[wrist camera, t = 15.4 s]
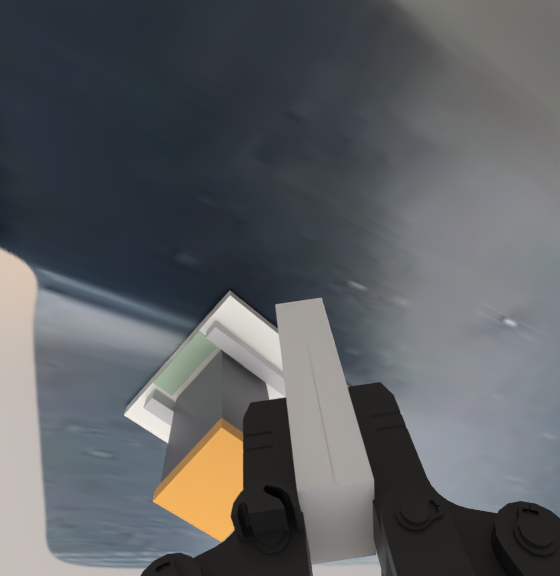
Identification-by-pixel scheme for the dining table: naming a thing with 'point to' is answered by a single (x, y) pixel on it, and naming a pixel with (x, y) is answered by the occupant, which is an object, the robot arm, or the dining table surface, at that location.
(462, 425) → the dining table surface
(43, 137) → the dining table surface
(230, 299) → the railed base plate
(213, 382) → the handle
